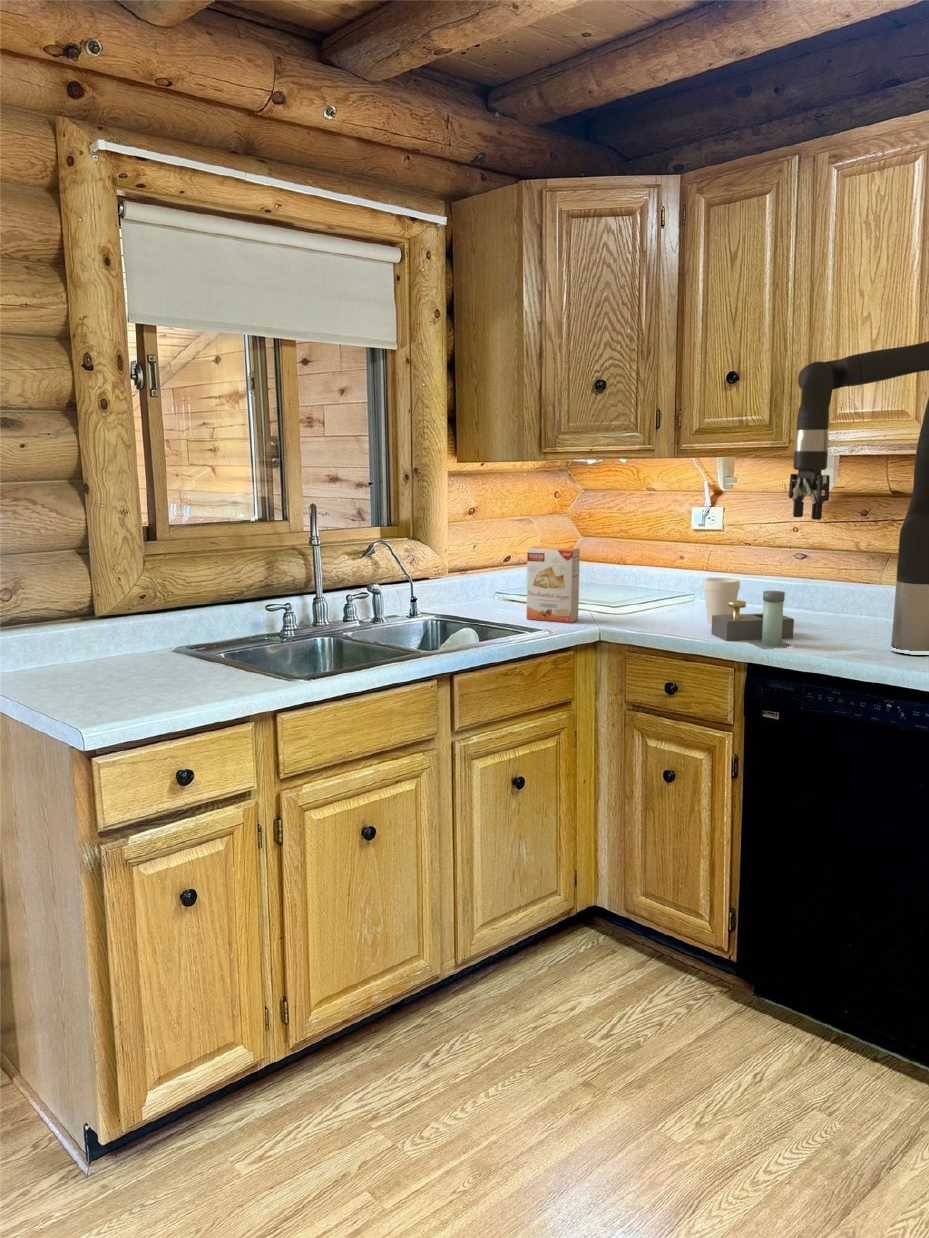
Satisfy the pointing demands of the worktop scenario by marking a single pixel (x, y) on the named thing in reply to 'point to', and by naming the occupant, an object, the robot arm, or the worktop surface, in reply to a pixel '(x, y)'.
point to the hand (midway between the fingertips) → (806, 518)
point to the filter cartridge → (772, 618)
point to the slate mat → (759, 644)
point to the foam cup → (720, 595)
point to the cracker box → (552, 584)
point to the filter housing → (746, 627)
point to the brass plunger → (736, 607)
